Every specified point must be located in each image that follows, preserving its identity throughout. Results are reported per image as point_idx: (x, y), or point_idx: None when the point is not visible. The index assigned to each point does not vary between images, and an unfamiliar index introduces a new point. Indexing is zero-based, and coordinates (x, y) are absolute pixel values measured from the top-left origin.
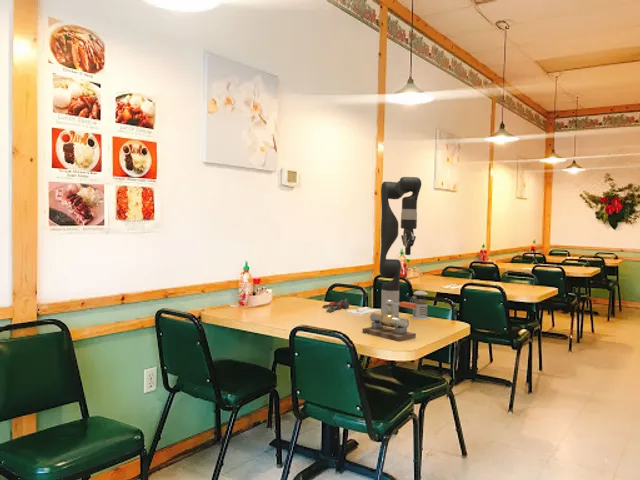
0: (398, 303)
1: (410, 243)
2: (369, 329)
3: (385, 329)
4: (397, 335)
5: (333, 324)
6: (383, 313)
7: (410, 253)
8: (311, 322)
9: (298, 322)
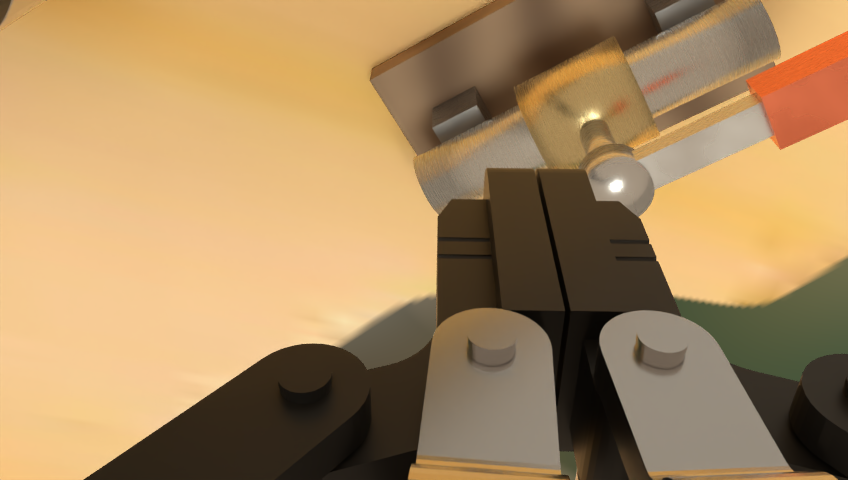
0: (746, 144)
1: (714, 474)
2: None
3: (517, 83)
4: None
5: (195, 305)
6: (555, 168)
7: (589, 184)
8: (144, 398)
9: None
